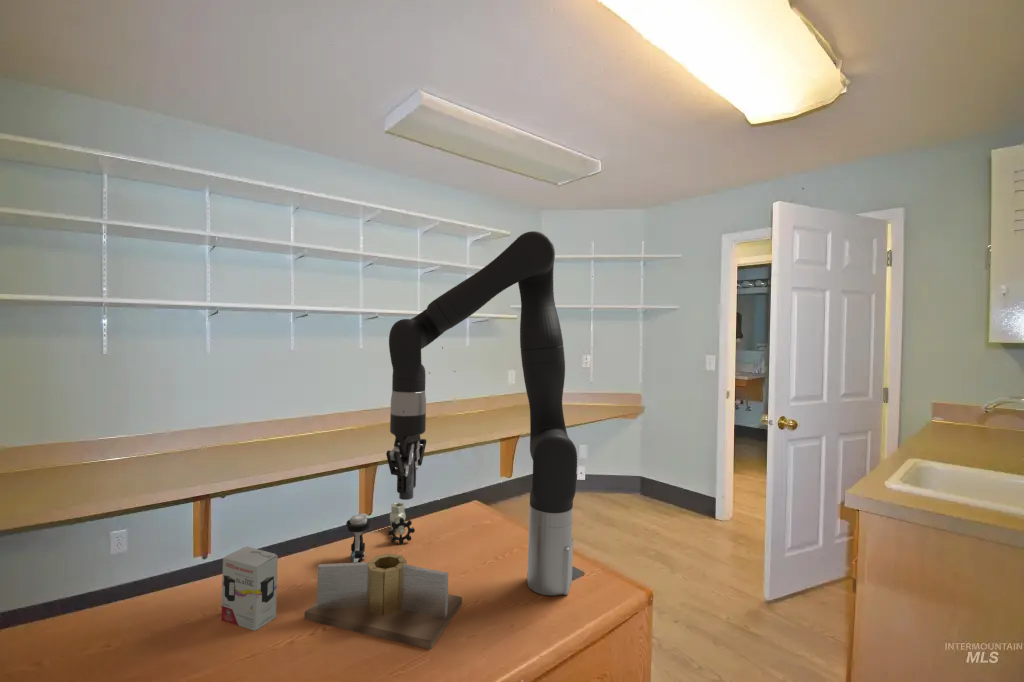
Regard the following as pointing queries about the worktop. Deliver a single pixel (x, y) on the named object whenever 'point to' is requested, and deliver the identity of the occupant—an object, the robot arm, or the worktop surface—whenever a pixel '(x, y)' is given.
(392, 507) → the valve
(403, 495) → the hinge pin
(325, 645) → the worktop surface
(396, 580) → the hinge knuckles
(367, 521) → the push button
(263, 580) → the ink box
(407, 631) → the board
